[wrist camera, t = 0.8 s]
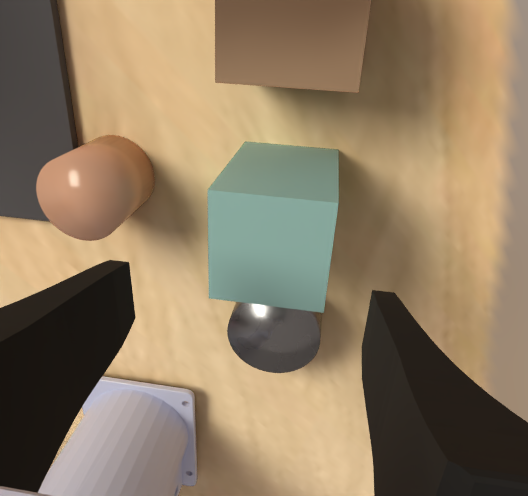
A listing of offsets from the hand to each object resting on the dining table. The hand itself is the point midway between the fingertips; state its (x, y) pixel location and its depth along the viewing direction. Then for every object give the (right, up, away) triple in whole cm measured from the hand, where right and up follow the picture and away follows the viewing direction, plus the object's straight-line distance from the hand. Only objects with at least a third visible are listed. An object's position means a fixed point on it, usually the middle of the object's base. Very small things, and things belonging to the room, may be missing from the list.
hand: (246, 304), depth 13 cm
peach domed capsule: (-7, +6, +10) cm, 14 cm away
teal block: (+2, +5, +9) cm, 10 cm away
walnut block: (+2, +12, +6) cm, 13 cm away
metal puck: (+1, -2, +13) cm, 13 cm away
